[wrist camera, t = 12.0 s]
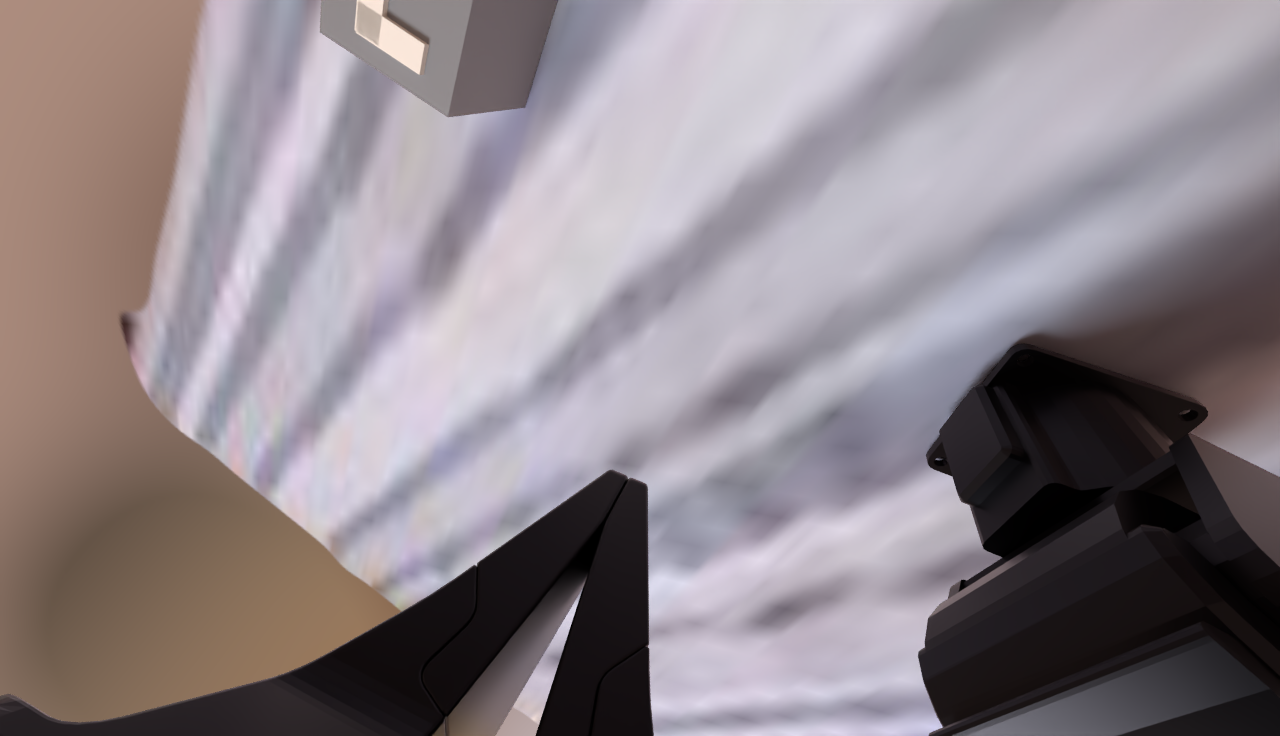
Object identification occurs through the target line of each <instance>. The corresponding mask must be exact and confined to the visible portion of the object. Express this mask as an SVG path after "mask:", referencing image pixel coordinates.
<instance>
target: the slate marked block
mask: <svg viewBox="0 0 1280 736" xmlns="http://www.w3.org/2000/svg"><path fill="white" fill-rule="evenodd" d="M557 2H558V0H321V18H320V33H322V34H323V35H325V36H326V37H328V38H329V39H331V40H332V41H334V42H335V43H337V44H338V45H340V46H341V47H343V48H344V49H346V50H347V51H349V52H350V53H352V54H353V55H355V56H356V57H358V58H359V59H361V60H362V61H364V62H365V63H367V64H368V65H370V66H371V67H373V68H374V69H376V70H377V71H379V72H381V73H382V74H384V75H385V76H387V77H388V78H390V79H391V80H393V81H394V82H396V83H397V84H399V85H400V86H402V87H403V88H405V89H406V90H408V91H409V92H411V93H412V94H414V95H415V96H417V97H418V98H420V99H421V100H423V101H424V102H426V103H427V104H429V105H430V106H432V107H433V108H435V109H436V110H438V111H439V112H441V113H442V114H444V115H445V116H447V117H453V116H461V115H469V114H477V113H485V112H493V111H501V110H509V109H517V108H525V105H526V102H527V99H528V96H529V92H530V89H531V86H532V83H533V79H534V76H535V73H536V70H537V67H538V63H539V60H540V57H541V54H542V50H543V47H544V44H545V41H546V37H547V34H548V31H549V28H550V25H551V21H552V18H553V15H554V12H555V8H556V5H557Z"/></svg>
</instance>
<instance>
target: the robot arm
mask: <svg viewBox="0 0 1280 736" xmlns="http://www.w3.org/2000/svg"><path fill="white" fill-rule="evenodd" d="M1023 355H1030V357H1029V358H1028V359H1027V360H1026V361H1022V362H1020V361H1017V359H1018V358H1019V357H1020V356H1023ZM1189 409H1190V412H1188V413H1186V414H1183V415H1179V414H1180V413H1181V412H1182V411H1184V410H1189ZM1207 416H1208V411H1207V409H1206V408H1205V407H1204V406H1203V405H1202V404H1201V403H1200V402H1199V401H1197V400H1195V399H1193V398H1190V397H1187V396H1184V395H1181V394H1178V393H1175V392H1172V391H1169V390H1166V389H1163V388H1160V387H1157V386H1154V385H1151V384H1148V383H1145V382H1142V381H1139V380H1136V379H1133V378H1130V377H1127V376H1124V375H1121V374H1118V373H1115V372H1112V371H1109V370H1106V369H1103V368H1100V367H1097V366H1094V365H1091V364H1087V363H1084V362H1081V361H1078V360H1075V359H1072V358H1069V357H1066V356H1063V355H1060V354H1057V353H1054V352H1051V351H1048V350H1045V349H1042V348H1039V347H1036V346H1033V345H1029V344H1020V345H1016V346H1014V347H1012V348H1011V349H1010V350H1009V351H1008V352H1007V353H1006V354H1005V355H1004V357H1003V358H1002V359H1001V360H1000V362H999V363H998V364H997V365H996V367H995V368H994V369H993V370H992V372H991V373H990V374H989V375H988V377H987V378H986V379H985V380H984V382H983V383H982V384H981V385H978V386H976V387H974V388H972V390H971V391H970V392H969V393H968V395H967V396H966V397H965V399H964V400H963V401H962V402H961V404H960V405H959V406H958V407H957V409H956V410H955V411H954V412H953V414H952V415H951V416H950V418H949V419H948V420H947V421H946V423H945V424H944V425H943V426H942V428H941V429H940V431H939V432H940V437H939V438H938V439H937V440H936V442H935V443H934V444H933V446H932V447H931V448H930V449H929V451H928V452H927V454H926V458H927V462H928V465H929V466H930V467H931V468H933V469H934V470H937V471H940V472H942V473H945V474H948V475H950V476H953V480H954V483H955V486H956V490H957V493H958V496H959V498H960V500H961V502H963V503H965V504H968V505H970V508H971V511H972V514H973V517H974V520H975V524H976V527H977V530H978V533H979V536H980V539H981V543H982V546H983V548H984V549H985V550H986V551H988V552H991V553H993V554H996V555H998V556H1001V557H1002V559H1000V560H998V561H997V562H995V563H994V564H992V565H991V566H989V567H988V568H986V569H984V570H983V571H981V572H980V573H978V574H977V575H975V576H973V577H972V578H970V579H969V580H967V581H966V580H961V581H959V582H958V583H956V584H955V585H953V586H951V588H950V592H949V596H948V599H947V600H946V601H944V602H942V603H941V604H939V606H938V607H937V608H936V609H935V611H934V612H933V613H932V614H931V615H930V617H929V618H928V623H927V630H926V637H925V648H923V649H921V650H920V651H919V653H918V658H919V663H920V667H921V672H922V677H923V681H924V684H925V687H926V690H927V693H928V695H929V698H930V700H931V703H932V705H933V708H934V711H935V713H936V715H937V717H938V719H939V721H940V723H941V725H942V726H943V728H941V729H938V730H936V731H933V732H931V733H930V734H929V736H1280V477H1278V476H1276V475H1274V474H1272V473H1270V472H1268V471H1266V470H1264V469H1262V468H1260V467H1258V466H1256V465H1254V464H1252V463H1250V462H1248V461H1246V460H1244V459H1242V458H1239V457H1237V456H1235V455H1233V454H1231V453H1229V452H1227V451H1225V450H1223V449H1221V448H1219V447H1217V446H1215V445H1213V444H1211V443H1209V442H1207V441H1205V440H1203V439H1201V438H1199V437H1197V436H1195V435H1192V434H1188V433H1189V432H1191V431H1192V430H1193V429H1194V428H1196V427H1197V426H1198V425H1199V424H1200V423H1202V422H1203V421H1204V420H1205V419H1206V417H1207ZM939 457H943V458H945V459H943V460H935V459H936V458H939ZM583 586H584V587H583ZM582 588H583V590H582ZM581 590H582V593H581V596H580V599H579V603H578V606H577V609H576V612H575V615H574V618H573V621H572V624H571V627H570V630H569V634H568V637H567V640H566V643H565V646H564V649H563V652H562V655H561V658H560V662H559V665H558V668H557V671H556V674H555V677H554V680H553V683H552V686H551V689H550V693H549V696H548V699H547V702H546V705H545V708H544V711H543V714H542V717H541V720H540V724H539V727H538V730H537V733H536V736H654V733H653V723H652V712H651V698H650V672H649V648H648V645H649V588H648V487H647V485H646V484H645V483H643V482H641V481H638V480H636V479H633V478H629V479H628V477H627V476H626V475H624V474H621V473H619V472H617V471H614V470H609V471H607V472H605V473H604V474H603V475H601V476H600V477H598V478H597V479H596V480H594V481H593V482H591V483H590V484H588V485H587V486H586V487H584V488H583V489H581V490H580V491H578V492H577V493H576V494H574V495H573V496H571V497H570V498H569V499H567V500H566V501H564V502H563V503H561V504H560V505H559V506H557V507H556V508H554V509H553V510H552V511H550V512H549V513H547V514H546V515H544V516H543V517H542V518H540V519H539V520H537V521H536V522H535V523H533V524H532V525H530V526H529V527H527V528H526V529H525V530H523V531H522V532H520V533H519V534H518V535H516V536H515V537H513V538H512V539H510V540H509V541H508V542H506V543H505V544H503V545H502V546H501V547H499V548H498V549H496V550H495V551H493V552H492V553H491V554H489V555H488V556H486V557H485V558H484V559H482V560H481V561H479V562H478V563H477V566H476V565H473V566H472V567H470V568H469V569H468V570H466V571H465V572H463V573H462V574H461V575H459V576H458V577H456V578H455V579H453V580H452V581H450V582H449V583H447V584H446V585H444V586H443V587H441V588H440V589H438V590H437V591H435V592H434V593H432V594H431V595H429V596H427V597H426V598H424V599H422V600H421V601H419V602H417V603H416V604H414V605H412V606H410V607H409V608H407V609H405V610H404V611H402V612H400V613H399V614H397V615H395V616H393V617H391V618H390V619H388V620H386V621H384V622H382V623H381V624H379V625H377V626H375V627H374V628H372V629H370V630H368V631H366V632H365V633H363V634H361V635H359V636H358V637H356V638H354V639H352V640H350V641H349V642H347V643H345V644H344V645H342V646H340V647H338V648H336V649H335V650H333V651H331V652H329V653H327V654H325V655H323V656H322V657H320V658H318V659H316V660H314V661H312V662H310V663H308V664H306V665H304V666H301V667H299V668H297V669H294V670H292V671H289V672H287V673H284V674H281V675H278V676H275V677H272V678H269V679H265V680H261V681H257V682H254V683H250V684H246V685H242V686H238V687H235V688H230V689H227V690H223V691H219V692H215V693H211V694H207V695H203V696H200V697H196V698H192V699H188V700H185V701H180V702H177V703H173V704H169V705H165V706H162V707H157V708H154V709H150V710H146V711H142V712H138V713H134V714H130V715H126V716H122V717H118V718H113V719H108V720H103V721H94V722H81V723H78V722H67V721H61V720H57V719H55V718H52V717H50V716H48V715H47V714H45V713H44V712H42V711H40V710H39V709H37V708H36V707H34V706H32V705H31V704H29V703H27V702H26V701H24V700H22V699H20V698H19V697H17V696H14V695H11V694H6V695H1V696H0V736H495V735H496V734H497V732H498V730H499V729H500V726H501V725H502V724H503V722H504V720H505V718H506V717H507V715H508V713H509V712H510V710H511V708H512V707H513V705H514V703H515V702H516V700H517V698H518V696H519V695H520V693H521V691H522V690H523V688H524V686H525V685H526V683H527V681H528V680H529V678H530V676H531V674H532V673H533V671H534V669H535V668H536V666H537V664H538V663H539V661H540V659H541V658H542V656H543V654H544V652H545V651H546V649H547V647H548V646H549V644H550V642H551V641H552V639H553V637H554V636H555V634H556V632H557V630H558V629H559V627H560V625H561V624H562V622H563V620H564V619H565V617H566V615H567V614H568V612H569V610H570V608H571V607H572V605H573V603H574V602H575V600H576V598H577V597H578V595H579V593H580V592H581Z"/></svg>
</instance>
